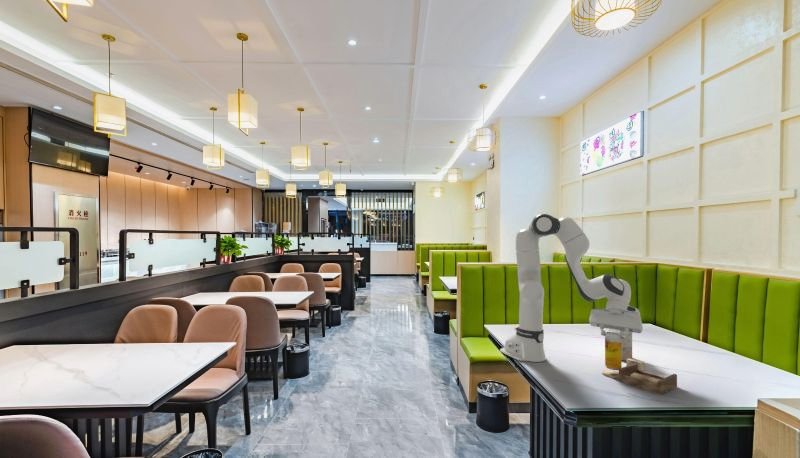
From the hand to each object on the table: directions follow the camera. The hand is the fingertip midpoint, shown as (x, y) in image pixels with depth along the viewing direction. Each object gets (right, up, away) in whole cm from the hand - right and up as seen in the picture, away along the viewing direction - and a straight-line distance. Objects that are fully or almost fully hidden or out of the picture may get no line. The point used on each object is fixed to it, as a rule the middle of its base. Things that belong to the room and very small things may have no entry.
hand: (612, 336), depth 149 cm
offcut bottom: (+6, -17, -12) cm, 21 cm away
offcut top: (+18, -16, +10) cm, 26 cm away
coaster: (0, -17, 0) cm, 17 cm away
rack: (+8, -16, -9) cm, 21 cm away
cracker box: (+19, -18, +25) cm, 37 cm away
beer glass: (0, -14, -1) cm, 14 cm away
